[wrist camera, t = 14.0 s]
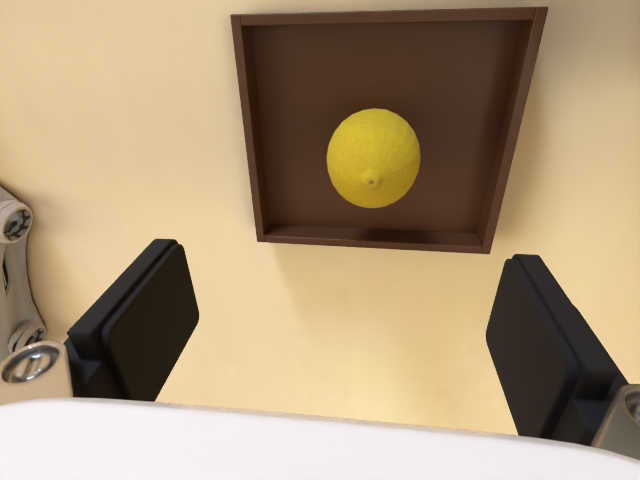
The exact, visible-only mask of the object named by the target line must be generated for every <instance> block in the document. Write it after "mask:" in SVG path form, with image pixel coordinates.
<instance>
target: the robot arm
mask: <svg viewBox="0 0 640 480" xmlns="http://www.w3.org/2000/svg"><path fill="white" fill-rule="evenodd" d="M198 320H199V310H198V306H197V302H196V298H195V293H194V289H193V285H192V281H191V276H190V272H189V268H188V264H187V260H186V255H185V251H184V248H183V246H182V245H181V244H178V242H177V241H176V240H174V239H155V240H153V241H152V242H151V243H150V245H149V246H148V247H147V248H146V249H145V250H144V251H143V252H142V253H141V254H140V255H139V256H138V257H137V258H136V259H135V260H134V262H133V263H132V264H131V265H130V266H129V267H128V268H127V269H126V270H125V271H124V272H123V273H122V274H121V275H120V276H119V277H118V279H117V280H116V281H115V282H114V283H113V284H112V285H111V286H110V287H109V288H108V289H107V290H106V291H105V292H104V293H103V294H102V296H101V297H100V298H99V299H98V300H97V301H96V302H95V303H94V304H93V305H92V306H91V307H90V308H89V309H88V310H87V311H86V313H85V314H84V315H83V316H82V317H81V318H80V319H79V320H78V321H77V322H76V323H75V324H74V325H73V326H72V327H71V328H70V330H69V331H68V332H67V334H68V336H69V338H68V339H67V340H66V341H65V342H64V343H63V344H62V343H61V342H59V341H53V340H47V341H40V342H36V343H32V344H29V345H27V346H25V347H23V348H20V349H19V350H17V351H15V352H14V353H12V354H11V355H9V356H8V357H7V358H6V359H4V360H3V361H2V362H1V363H0V480H640V384H629V383H628V382H627V380H626V379H625V377H624V376H623V374H622V373H621V371H620V370H619V369H618V367H617V366H616V364H615V363H614V361H613V360H612V358H611V357H610V356H609V354H608V353H607V351H606V350H605V348H604V347H603V345H602V344H601V342H600V341H599V340H598V338H597V337H596V335H595V334H594V332H593V331H592V329H591V328H590V327H589V325H588V324H587V322H586V321H585V319H584V318H583V316H582V315H581V313H580V312H579V311H578V309H577V308H576V307H575V306H574V305H573V304H572V303H571V301H570V300H569V298H568V297H567V296H566V294H565V293H564V291H563V290H562V288H561V287H560V285H559V284H558V282H557V281H556V279H555V278H554V276H553V275H552V274H551V272H550V271H549V269H548V268H547V266H546V265H545V263H544V262H543V260H542V259H541V257H540V256H539V255H527V254H515V255H514V256H513V257H512V259H507V260H506V261H505V264H504V267H503V271H502V275H501V278H500V282H499V286H498V289H497V293H496V297H495V300H494V304H493V308H492V311H491V315H490V319H489V322H488V326H487V330H486V342H487V345H488V348H489V351H490V354H491V357H492V360H493V363H494V366H495V368H496V371H497V374H498V377H499V380H500V383H501V386H502V389H503V391H504V394H505V397H506V400H507V403H508V406H509V409H510V412H511V415H512V417H513V420H514V423H515V426H516V429H517V432H518V435H519V436H516V435H507V434H498V433H489V432H480V431H471V430H461V429H451V428H441V427H430V426H420V425H409V424H399V423H388V422H378V421H367V420H356V419H345V418H335V417H324V416H313V415H301V414H290V413H279V412H268V411H257V410H245V409H234V408H222V407H210V406H198V405H186V404H174V403H162V402H155V400H156V398H157V396H158V394H159V393H160V391H161V389H162V387H163V385H164V383H165V382H166V380H167V378H168V376H169V374H170V373H171V371H172V369H173V367H174V365H175V364H176V362H177V360H178V358H179V356H180V354H181V353H182V351H183V349H184V347H185V345H186V344H187V342H188V340H189V338H190V336H191V335H192V333H193V331H194V329H195V327H196V325H197V323H198Z"/></svg>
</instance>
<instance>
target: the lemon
mask: <svg viewBox="0 0 640 480" xmlns="http://www.w3.org/2000/svg"><path fill="white" fill-rule="evenodd" d="M420 159H421V156H420V147H419V142H418V140H417V137H416V135H415V132H414V130H413V129H412V128H411V127H410V125H409V124H408V123H407V121H405V120H404V119H403V118H402V117H400V116H399V115H398V114H395V113H393V112H391V111H388V110H385V109H376V108H374V109H367V110H362V111H360V112H357V113H355V114H352V115H351V116H350V117H348V118H347V119H346V120H344V121H343V122H342V123H341V124H340V126H339V127H338V128H337V129H336V131H335V132H334V134H333V136H332V138H331V141H330V143H329V146H328V152H327V167H328V173H329V176H330V178H331V181H332V184H333V185H334V187H335V188H336V190H337V191H338V192H339V194H340V195H341V196H343V197H344V198H345V199H346V200H347V201H349V202H351V203H353V204H355V205H357V206H361V207H365V208H379V207H384V206H387V205H389V204H392V203H394V202H396V201H397V200H399V199H400V198H401V197H402V196H404V195H405V194H406V192H407V191H408V190H409V189H410V187H411V186H412V185H413V183H414V181H415V178H416V176H417V174H418V171H419V165H420Z"/></svg>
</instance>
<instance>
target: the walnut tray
mask: <svg viewBox="0 0 640 480" xmlns="http://www.w3.org/2000/svg"><path fill="white" fill-rule="evenodd" d="M547 11H548V7H514V8H474V9H433V10H392V11H352V12H311V13H270V14H231V24H232V33H233V41H234V50H235V58H236V66H237V75H238V83H239V92H240V100H241V109H242V117H243V125H244V134H245V142H246V151H247V159H248V168H249V176H250V184H251V193H252V201H253V210H254V218H255V226H256V235H257V242H270V243H289V244H308V245H327V246H346V247H364V248H383V249H402V250H421V251H440V252H458V253H477V254H490V250H491V246H492V242H493V238H494V234H495V229H496V225H497V221H498V217H499V213H500V208H501V204H502V200H503V196H504V192H505V187H506V183H507V179H508V175H509V171H510V166H511V162H512V158H513V154H514V150H515V145H516V141H517V137H518V133H519V129H520V125H521V120H522V116H523V112H524V108H525V104H526V99H527V95H528V91H529V87H530V83H531V78H532V74H533V70H534V66H535V62H536V57H537V53H538V49H539V45H540V41H541V36H542V32H543V28H544V24H545V20H546V15H547ZM374 108H376V109H385V110H388V111H391V112H393V113H395V114H398V115H399V116H400V117H402V118H403V119H404V120H405V121H407V123H408V124H409V125H410V127H411V128H412V129H413V130H414V132H415V135H416V137H417V140H418V142H419V147H420V156H421V159H420V165H419V171H418V174H417V176H416V178H415V181H414V183H413V185H412V186H411V187H410V189H409V190H408V191H407V192H406V194H405V195H404V196H402V197H401V198H400V199H399V200H397V201H396V202H394V203H392V204H389V205H387V206H384V207H379V208H365V207H361V206H357V205H355V204H353V203H351V202H349V201H347V200H346V199H345V198H344V197H343V196H341V195H340V194H339V192H338V191H337V190H336V188H335V187H334V185H333V184H332V181H331V178H330V176H329V173H328V167H327V152H328V146H329V143H330V141H331V138H332V136H333V134H334V132H335V131H336V129H337V128H338V127H339V126H340V124H341V123H342V122H343V121H344V120H346V119H347V118H348V117H350V116H351V115H352V114H355V113H357V112H360V111H362V110H367V109H374Z"/></svg>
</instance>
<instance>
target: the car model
mask: <svg viewBox="0 0 640 480" xmlns="http://www.w3.org/2000/svg"><path fill="white" fill-rule="evenodd" d="M32 222H33V215H32V210H31V209H30V208H29V207H28V206H26V205H25V204H24V203H22V202H20V201H19V200H18V199H16V198H15V197H14V196H12V195H11V194H10V193H8V192H7V191H6V190H5V189H3V188H2V187H1V186H0V363H1V362H2V361H3V360H4V359H6V358H7V357H8V356H9V355H11V354H12V353H14V352H15V351H17V350H19V349H20V348H23V347H25V346H27V345H29V344H32V343H36V342H40V341H44V339H45V336H46V333H47V331H46V327H45V325H44V324H43V322H42V320H41V318H40V316H39V314H38V311H37V309H36V307H35V305H34V303H33V301H32V297H31V292H30V287H29V283H28V278H27V268H26V242H27V235H28V232H29V230H30V228H31V225H32Z"/></svg>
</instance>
